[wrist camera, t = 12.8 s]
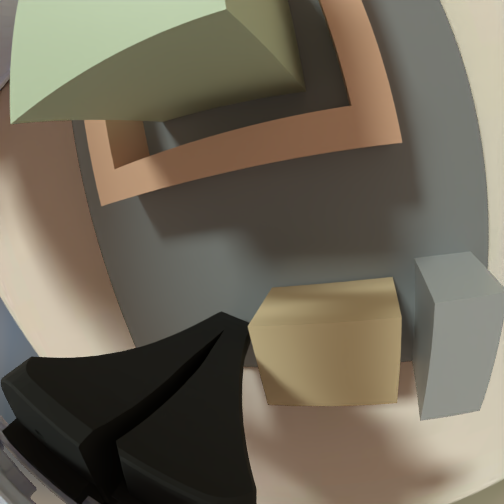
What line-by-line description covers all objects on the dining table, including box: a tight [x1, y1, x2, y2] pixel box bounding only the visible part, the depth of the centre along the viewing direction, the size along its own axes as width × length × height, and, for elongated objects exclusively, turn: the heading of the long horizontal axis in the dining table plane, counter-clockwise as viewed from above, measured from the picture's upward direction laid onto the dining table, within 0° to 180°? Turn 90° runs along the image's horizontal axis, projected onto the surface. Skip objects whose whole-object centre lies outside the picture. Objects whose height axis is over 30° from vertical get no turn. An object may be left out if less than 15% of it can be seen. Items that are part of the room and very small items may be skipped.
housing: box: [72, 0, 504, 420], centre depth 8 cm, size 15×20×4 cm
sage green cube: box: [10, 0, 306, 124], centre depth 6 cm, size 5×5×6 cm
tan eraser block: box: [248, 277, 402, 406], centre depth 9 cm, size 4×3×2 cm
